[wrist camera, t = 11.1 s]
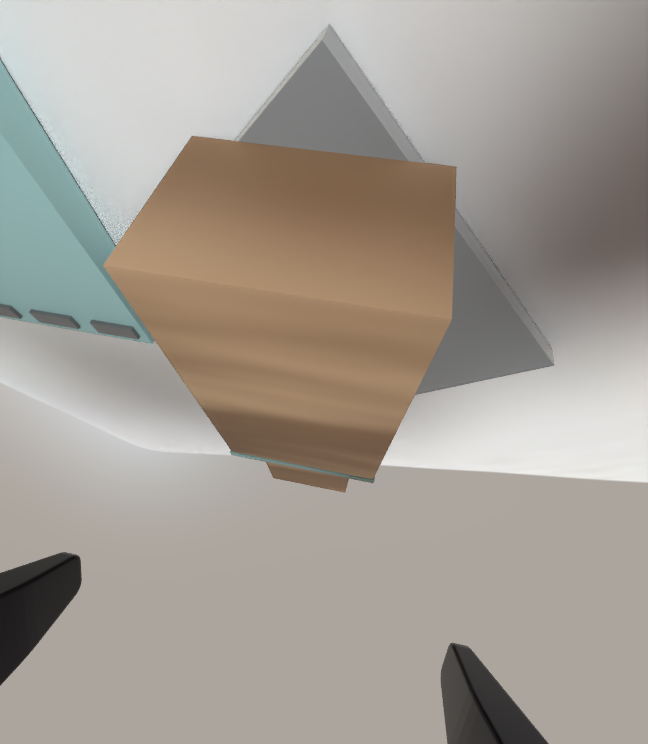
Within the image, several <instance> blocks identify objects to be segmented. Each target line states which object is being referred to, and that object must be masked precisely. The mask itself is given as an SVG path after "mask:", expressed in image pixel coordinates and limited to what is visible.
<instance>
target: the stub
mask: <svg viewBox="0 0 648 744" xmlns="http://www.w3.org/2000/svg"><path fill="white" fill-rule="evenodd" d="M455 199H456V167H454V166H446V165H437V164H428V163H420V162H411V161H403V160H394V159H385V158H377V157H368V156H359V155H351V154H342V153H334V152H325V151H316V150H308V149H299V148H291V147H282V146H273V145H265V144H256V143H248V142H239V141H230V140H222V139H213V138H205V137H196V136H192V137H191V138H190V140H189V141H188V143H187V144H186V145H185V147H184V148H183V150H182V151H181V153H180V154H179V156H178V157H177V159H176V160H175V161H174V163H173V164H172V166H171V167H170V169H169V170H168V172H167V173H166V175H165V176H164V177H163V179H162V180H161V182H160V183H159V185H158V186H157V188H156V189H155V190H154V192H153V193H152V195H151V196H150V198H149V199H148V201H147V202H146V204H145V205H144V206H143V208H142V209H141V211H140V212H139V214H138V215H137V217H136V218H135V220H134V221H133V222H132V224H131V225H130V227H129V228H128V230H127V231H126V233H125V234H124V236H123V237H122V238H121V240H120V241H119V243H118V244H117V246H116V247H115V249H114V250H113V252H112V253H111V254H110V256H109V257H108V259H107V260H106V262H105V263H104V265H103V266H104V268H105V269H106V271H107V272H108V273H109V275H110V276H111V278H112V279H113V281H114V282H115V284H116V285H117V286H118V288H119V289H120V291H121V292H122V294H123V295H124V297H125V298H126V299H127V301H128V302H129V304H130V305H131V307H132V308H133V309H134V311H135V312H136V314H137V315H138V317H139V318H140V320H141V321H142V322H143V324H144V325H145V327H146V328H147V330H148V331H149V333H150V334H151V335H152V337H153V338H154V340H155V341H156V343H157V344H158V345H159V347H160V348H161V350H162V351H163V353H164V354H165V356H166V357H167V358H168V360H169V361H170V363H171V364H172V366H173V367H174V369H175V370H176V371H177V373H178V374H179V376H180V377H181V379H182V380H183V382H184V383H185V384H186V386H187V387H188V389H189V390H190V392H191V393H192V394H193V396H194V397H195V399H196V400H197V402H198V403H199V405H200V406H201V407H202V409H203V410H204V412H205V413H206V415H207V416H208V418H209V419H210V420H211V422H212V423H213V425H214V426H215V428H216V429H217V430H218V432H219V433H220V435H221V436H222V438H223V439H224V441H225V442H226V443H227V445H228V446H229V448H230V449H231V452H230V453H231V454H232V455H235V456H240V457H245V458H250V459H255V460H260V461H265V462H266V463H267V465H268V467H269V469H270V471H271V474H272V476H273V478H276V479H281V480H286V481H291V482H296V483H301V484H306V485H310V486H316V487H320V488H325V489H330V490H335V491H340V492H345V491H346V487H347V483H348V480H349V478H350V479H355V480H360V481H365V482H370V483H373V482H374V478H375V474H376V472H377V470H378V468H379V466H380V464H381V462H382V460H383V458H384V456H385V454H386V452H387V450H388V448H389V446H390V444H391V442H392V440H393V438H394V436H395V434H396V432H397V429H398V427H399V425H400V423H401V421H402V419H403V417H404V415H405V413H406V411H407V409H408V407H409V405H410V403H411V401H412V399H413V397H414V395H415V393H416V391H417V389H418V387H419V385H420V383H421V381H422V379H423V377H424V375H425V373H426V371H427V369H428V367H429V365H430V363H431V361H432V359H433V357H434V355H435V353H436V351H437V349H438V347H439V345H440V343H441V340H442V338H443V336H444V334H445V332H446V330H447V328H448V326H449V324H450V322H451V320H452V300H453V267H454V233H455Z"/></svg>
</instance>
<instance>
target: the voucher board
mask: <svg viewBox="0 0 648 744" xmlns="http://www.w3.org/2000/svg"><path fill="white" fill-rule="evenodd" d="M115 247H116V246H115V245H114V243H113V241H112V240H111V238H110V237H109V235H108V233H107V232H106V230H105V228H104V227H103V225H102V224H101V222H100V220H99V219H98V217H97V216H96V214H95V212H94V211H93V209H92V207H91V206H90V204H89V203H88V201H87V199H86V198H85V196H84V195H83V193H82V191H81V190H80V188H79V186H78V185H77V183H76V182H75V180H74V178H73V177H72V175H71V174H70V172H69V170H68V169H67V167H66V166H65V164H64V162H63V161H62V159H61V157H60V156H59V154H58V153H57V151H56V149H55V148H54V146H53V145H52V143H51V141H50V140H49V138H48V136H47V135H46V133H45V132H44V130H43V128H42V127H41V125H40V124H39V122H38V120H37V119H36V117H35V115H34V114H33V112H32V111H31V109H30V107H29V106H28V104H27V103H26V101H25V99H24V98H23V96H22V94H21V93H20V91H19V90H18V88H17V86H16V85H15V83H14V82H13V80H12V78H11V77H10V75H9V73H8V72H7V70H6V69H5V67H4V65H3V64H2V62H1V61H0V317H3V318H9V319H14V320H20V321H26V322H31V323H37V324H43V325H48V326H54V327H60V328H65V329H71V330H77V331H83V332H88V333H94V334H100V335H105V336H111V337H117V338H122V339H128V340H134V341H139V342H145V343H151V344H152V343H153V341H154V338H153V337H152V335H151V334H150V333H149V331H148V330H147V328H146V327H145V325H144V324H143V322H142V321H141V320H140V318H139V317H138V315H137V314H136V312H135V311H134V309H133V308H132V307H131V305H130V304H129V302H128V301H127V299H126V298H125V297H124V295H123V294H122V292H121V291H120V289H119V288H118V286H117V285H116V284H115V282H114V281H113V279H112V278H111V276H110V275H109V273H108V272H107V271H106V269H105V268H104V266H103V265H104V263H105V262H106V260H107V259H108V257H109V256H110V254H111V253H112V252H113V250H114V249H115Z"/></svg>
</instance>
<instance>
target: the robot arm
mask: <svg viewBox="0 0 648 744" xmlns="http://www.w3.org/2000/svg"><path fill="white" fill-rule="evenodd" d="M81 580H82V578H81V560H80V557H79V556H78V555H75V554H71V553H66V552H62V553H59V554H56V555H53V556H50V557H47V558H44V559H41V560H38V561H35V562H32V563H29V564H26V565H23V566H20V567H17V568H14V569H11V570H8V571H5V572H2V573H0V685H1V684H2V683H3V682H4V681H5V680H6V679H7V678H8V677H9V675H10V674H11V673H12V672H13V671H14V670H15V669H16V668H17V667H18V666H19V665H20V664H21V662H22V661H23V660H24V659H25V658H26V657H27V656H28V655H29V653H30V652H31V651H32V650H33V649H34V647H35V646H36V645H37V644H38V643H39V641H40V640H41V639H42V637H43V636H44V635H45V634H46V632H47V631H48V630H49V628H50V627H51V626H52V624H53V623H54V622H55V621H56V620H57V618H58V617H59V616H60V614H61V613H62V612H63V611H64V609H65V608H66V607H67V605H68V604H69V603H70V601H71V600H72V599H73V598H74V596H75V595H76V594H77V592H78V590H79V588H80V586H81ZM441 688H442V697H443V706H444V715H445V724H446V734H447V743H448V744H548V742H547V741H546V740H545V739H544V737H543V736H542V735H541V734H540V733H539V731H538V730H537V729H536V728H535V726H534V725H533V724H532V723H531V722H530V720H529V719H528V718H527V717H526V716H525V714H524V713H523V712H522V711H521V709H520V708H519V707H518V706H517V705H516V703H515V702H514V701H513V700H512V698H511V697H510V696H509V695H508V694H507V692H506V691H505V690H504V689H503V688H502V686H501V685H500V684H499V683H498V681H497V680H496V679H495V678H494V677H493V675H492V674H491V673H490V672H489V671H488V669H487V668H486V667H485V666H484V665H483V663H482V662H481V661H480V660H479V658H478V657H477V656H476V655H475V653H474V652H473V651H472V650H471V649H470V648H469V647H467V646H464V645H460V644H455V643H451V644H450V645H449V647H448V650H447V653H446V656H445V660H444V662H443V666H442V669H441Z"/></svg>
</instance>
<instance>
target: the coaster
mask: <svg viewBox="0 0 648 744" xmlns="http://www.w3.org/2000/svg"><path fill="white" fill-rule="evenodd" d="M235 141H239V142H248V143H256V144H265V145H273V146H282V147H291V148H299V149H308V150H316V151H325V152H334V153H342V154H351V155H359V156H368V157H377V158H385V159H394V160H403V161H411V162H420V163H424V161H423V160H422V158H421V157H420V155H419V154H418V152H417V151H416V149H415V148H414V146H413V145H412V144H411V142H410V141H409V139H408V138H407V136H406V135H405V133H404V132H403V130H402V129H401V127H400V126H399V125H398V123H397V122H396V120H395V119H394V117H393V116H392V114H391V113H390V111H389V110H388V108H387V107H386V106H385V104H384V103H383V101H382V100H381V98H380V97H379V95H378V94H377V92H376V91H375V89H374V88H373V87H372V85H371V84H370V82H369V81H368V79H367V78H366V76H365V75H364V73H363V72H362V70H361V69H360V68H359V66H358V65H357V63H356V62H355V60H354V59H353V57H352V56H351V54H350V53H349V51H348V50H347V49H346V47H345V46H344V44H343V43H342V41H341V40H340V38H339V37H338V35H337V34H336V32H335V31H334V30H333V28H332V27H331V25H330V24H329V25H328V26H327V28H326V29H325V30H324V31H323V32H322V34H321V35H320V36H319V37H318V39H317V40H316V41H315V42H314V43H313V45H312V46H311V47H310V48H309V50H308V51H307V52H306V53H305V55H304V56H303V57H302V58H301V59H300V61H299V62H298V63H297V64H296V66H295V67H294V68H293V69H292V71H291V72H290V73H289V74H288V75H287V77H286V78H285V79H284V80H283V82H282V83H281V84H280V85H279V87H278V88H277V89H276V90H275V91H274V93H273V94H272V95H271V96H270V98H269V99H268V100H267V101H266V103H265V104H264V105H263V106H262V107H261V109H260V110H259V111H258V112H257V114H256V115H255V116H254V117H253V119H252V120H251V121H250V122H249V123H248V125H247V126H246V127H245V128H244V130H243V131H242V132H241V133H240V134H239V136H238V137H237V138H236V139H235ZM553 365H554V360H553V353H552V348H551V347H550V345H549V344H548V342H547V341H546V339H545V338H544V336H543V335H542V333H541V332H540V331H539V329H538V328H537V326H536V325H535V323H534V322H533V320H532V319H531V317H530V316H529V314H528V313H527V312H526V310H525V309H524V307H523V306H522V304H521V303H520V301H519V300H518V298H517V297H516V295H515V294H514V293H513V291H512V290H511V288H510V287H509V285H508V284H507V282H506V281H505V279H504V278H503V276H502V275H501V274H500V272H499V271H498V269H497V268H496V266H495V265H494V263H493V262H492V260H491V259H490V257H489V256H488V255H487V253H486V252H485V250H484V249H483V247H482V246H481V244H480V243H479V241H478V240H477V238H476V237H475V236H474V234H473V233H472V231H471V230H470V228H469V227H468V225H467V224H466V222H465V221H464V219H463V218H462V217H461V215H460V214H459V212H458V211H457V209H456V208H455V233H454V267H453V300H452V320H451V322H450V324H449V326H448V328H447V330H446V332H445V334H444V336H443V338H442V340H441V343H440V345H439V347H438V349H437V351H436V353H435V355H434V357H433V359H432V361H431V363H430V365H429V367H428V369H427V371H426V373H425V375H424V377H423V379H422V381H421V383H420V385H419V387H418V389H417V391H416V393H415V395H416V394H421V393H426V392H431V391H435V390H440V389H445V388H449V387H454V386H459V385H464V384H468V383H473V382H478V381H483V380H487V379H492V378H497V377H501V376H506V375H511V374H516V373H520V372H525V371H530V370H535V369H539V368H544V367H549V366H553Z"/></svg>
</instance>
